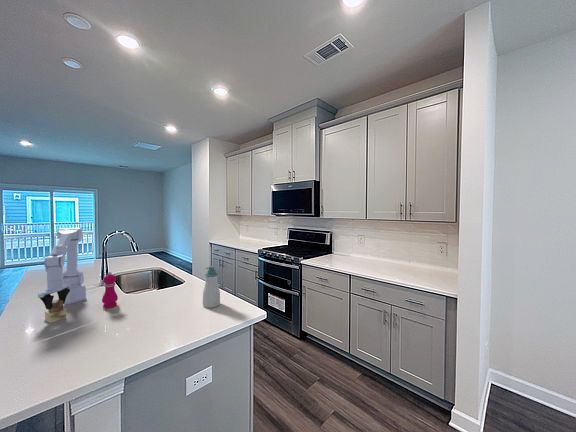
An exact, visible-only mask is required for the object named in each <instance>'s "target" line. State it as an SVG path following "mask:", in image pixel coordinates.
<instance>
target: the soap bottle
mask: <svg viewBox="0 0 576 432" xmlns="http://www.w3.org/2000/svg"><path fill="white" fill-rule="evenodd" d="M205 269H206V270H207V272H206V273H205V274H204V276H205V283H204V287H203V290H202V306H203V307H204V308H207V309H212V308H216V307H219V306H220V303H221V291H220V287H219V281H218V275H219V273H218V272H217V271H216V269H215V266H214V265H210V266H208V267H205Z"/></svg>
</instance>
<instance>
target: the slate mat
mask: <svg viewBox="0 0 576 432" xmlns="http://www.w3.org/2000/svg"><path fill="white" fill-rule="evenodd" d="M66 318H68V316H67V315H66V317H65V318H61V319H58V320H55V321H52V322H50V321H48V320H46V319H45V318H43V320H44V321H46V322H48V323H53V322H56V321H59V320H63V319H66Z"/></svg>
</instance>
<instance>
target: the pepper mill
mask: <svg viewBox="0 0 576 432" xmlns="http://www.w3.org/2000/svg"><path fill="white" fill-rule="evenodd" d="M102 281H103V283H104V284H103V285H104V287H105V288H104V289H105V290H104V294H103V295H102V298H101V302H102V307H103V309H112V308H115V307H117V303H118V302H117V301H118V299H119V298H118V297H119V296H118V294H117V293H116V289H115V286H116V281H117V277H116V275H115V274H113V273H112V272H111V271H108V272H107V275H105V276H104V277H103V279H102Z"/></svg>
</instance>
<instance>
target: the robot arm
mask: <svg viewBox="0 0 576 432" xmlns="http://www.w3.org/2000/svg"><path fill="white" fill-rule="evenodd" d="M56 235H57V238H58V242H57V244H56V245H55V246H53V248H52V249H51V252H50V254H49V255H48V256H47V257H45V258H44V261H43V262H44V263H43V266H44V268H45V272H46V284H47V285H46V288H45V290H43V291H40V292H38V293H37V298H39V299H40V301H42V303H43V304H44V306H45V309H46V310H47V311H48V310H50V309H52V301H54V297H55V295H52V294H54V293H56V294H57V296H58V299H59V300H63V305H70V304H74V303H77V302H81V301H85V300H87V287H86V285H85V284H84V280H85V276H84V273H83V271H81V270H80V269H78V253H79V252H78V247H79V246H78V245H79V242H82V240H83V229H82V228H80V227H59V228H58V229H57V233H56ZM65 262H66V271H64V269H63V268H64V265H65ZM63 271H64V272H63Z"/></svg>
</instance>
